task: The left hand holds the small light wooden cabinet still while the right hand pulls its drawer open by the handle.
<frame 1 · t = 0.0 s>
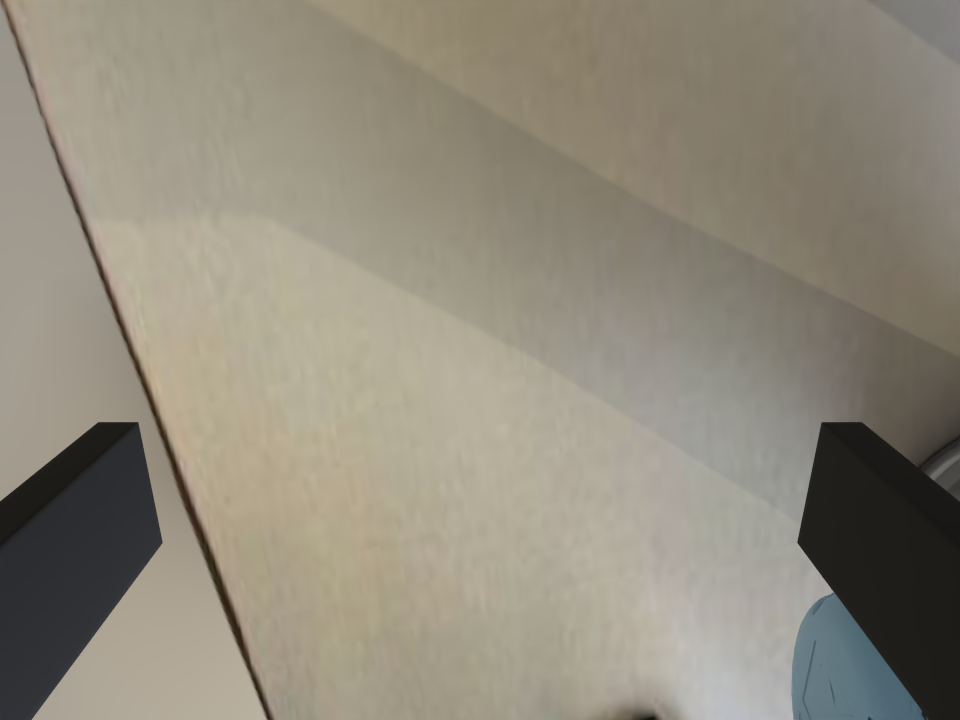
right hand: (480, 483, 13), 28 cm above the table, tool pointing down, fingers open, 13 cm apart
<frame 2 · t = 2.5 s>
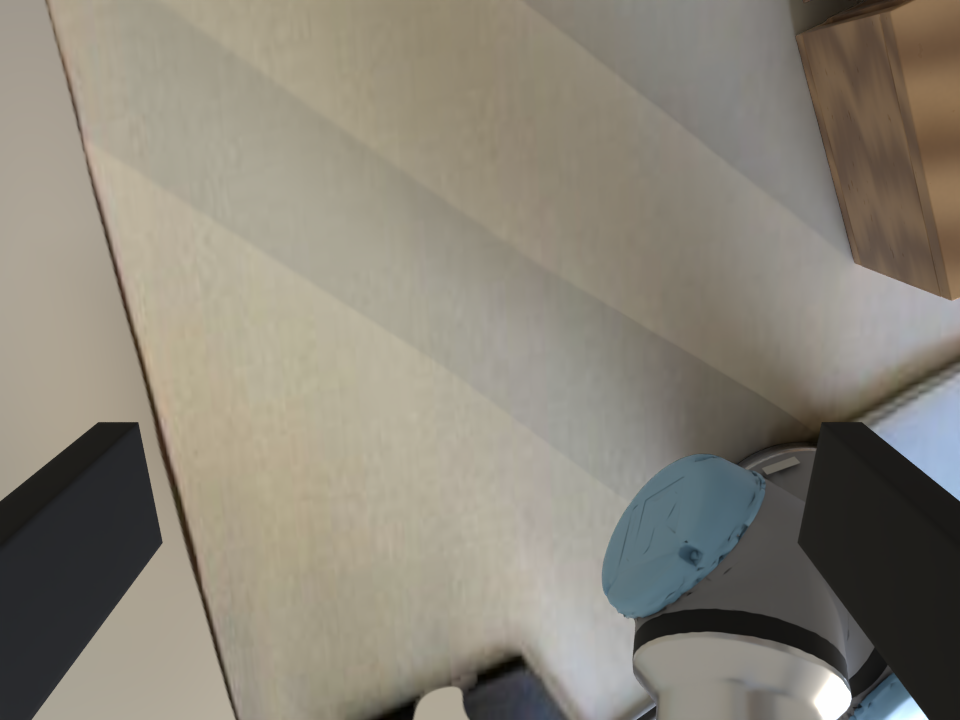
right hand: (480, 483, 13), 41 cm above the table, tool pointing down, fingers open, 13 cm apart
cabinet: (898, 124, 49), on the table
drawer: (931, 30, 41), point 6 cm above the table, slide at 1.8 cm
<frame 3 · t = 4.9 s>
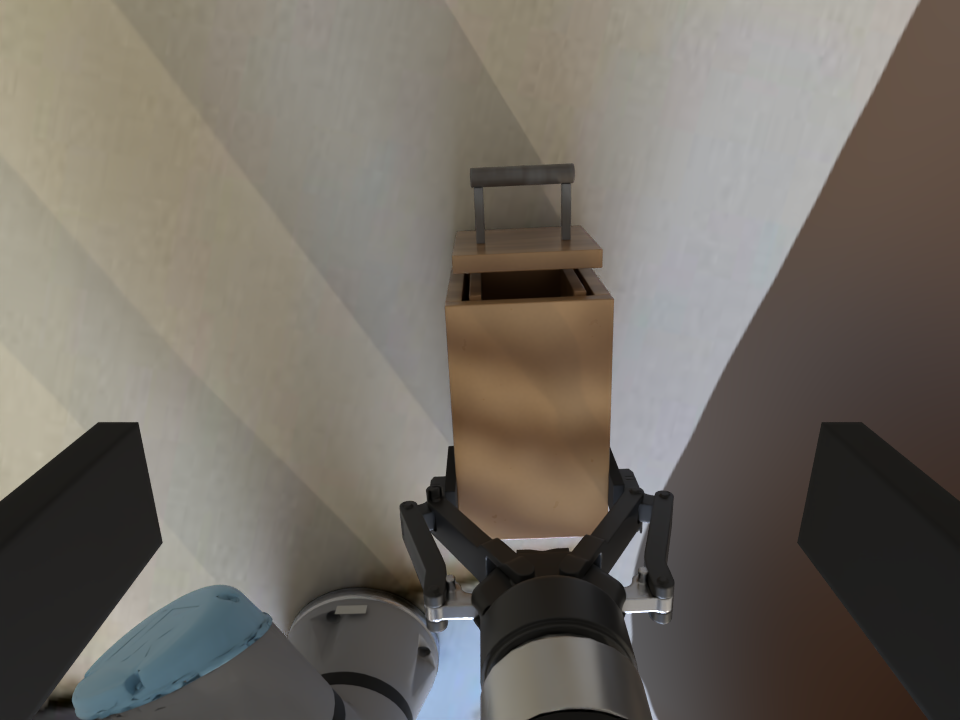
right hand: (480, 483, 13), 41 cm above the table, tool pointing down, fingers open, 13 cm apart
left hand: (528, 458, 51), fingers closed on cabinet, 11 cm apart
cabinet: (521, 368, 56), on the table, touching left hand
drawer: (524, 318, 48), point 6 cm above the table, slide at 1.8 cm
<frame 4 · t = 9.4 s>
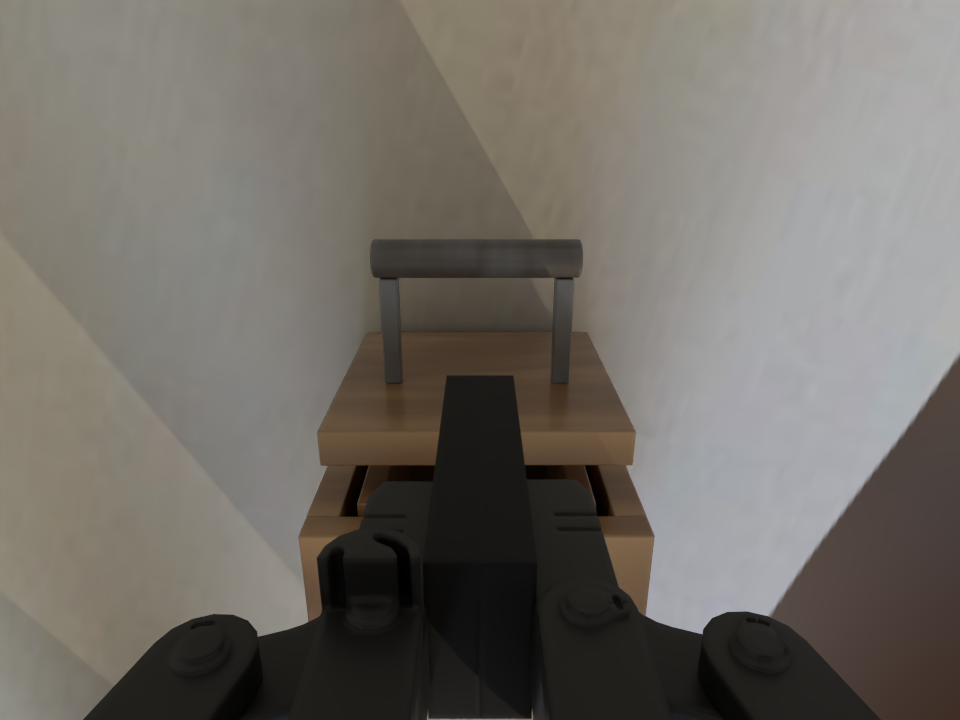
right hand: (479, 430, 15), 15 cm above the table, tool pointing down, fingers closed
cabinet: (477, 546, 34), on the table, touching left hand
drawer: (477, 507, 26), point 6 cm above the table, slide at 1.8 cm
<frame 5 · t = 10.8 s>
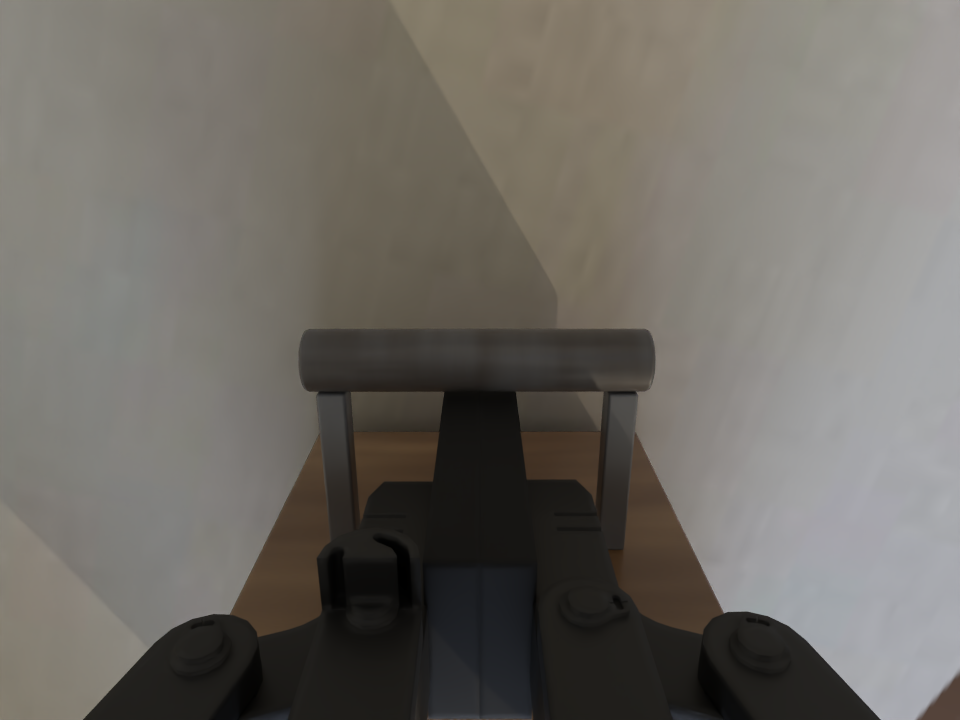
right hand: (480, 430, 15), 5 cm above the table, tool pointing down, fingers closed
drawer: (477, 705, 18), point 6 cm above the table, slide at 1.8 cm, touching right hand
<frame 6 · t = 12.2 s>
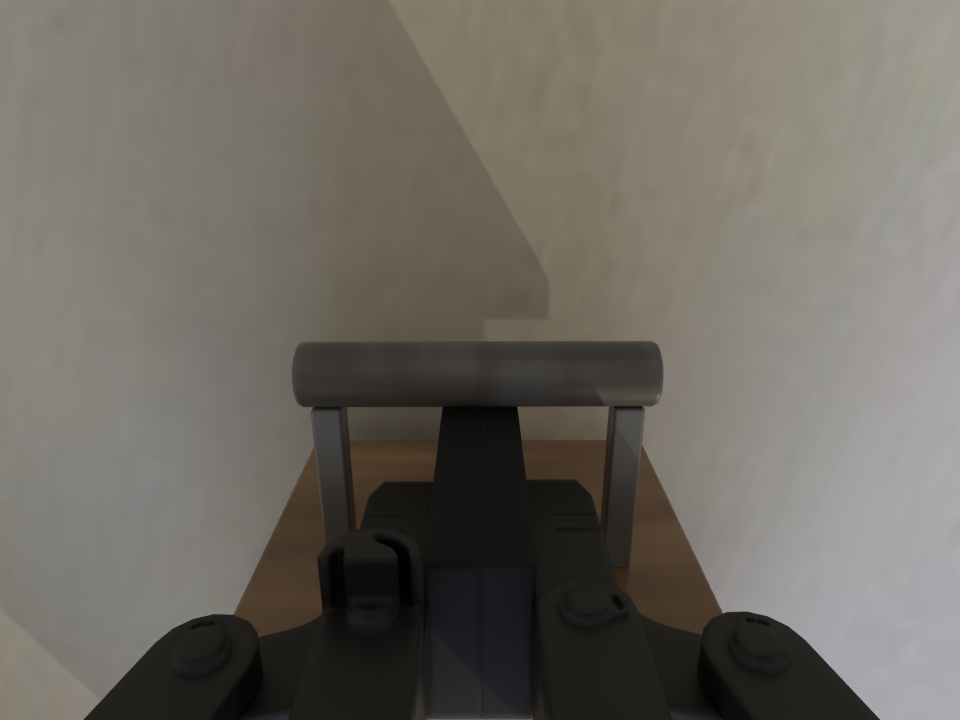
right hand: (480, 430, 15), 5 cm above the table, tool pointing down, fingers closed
when the left hand's fingers open (7 cm above the table, at t = 14.1 s): cabinet stays where it is, on the table.
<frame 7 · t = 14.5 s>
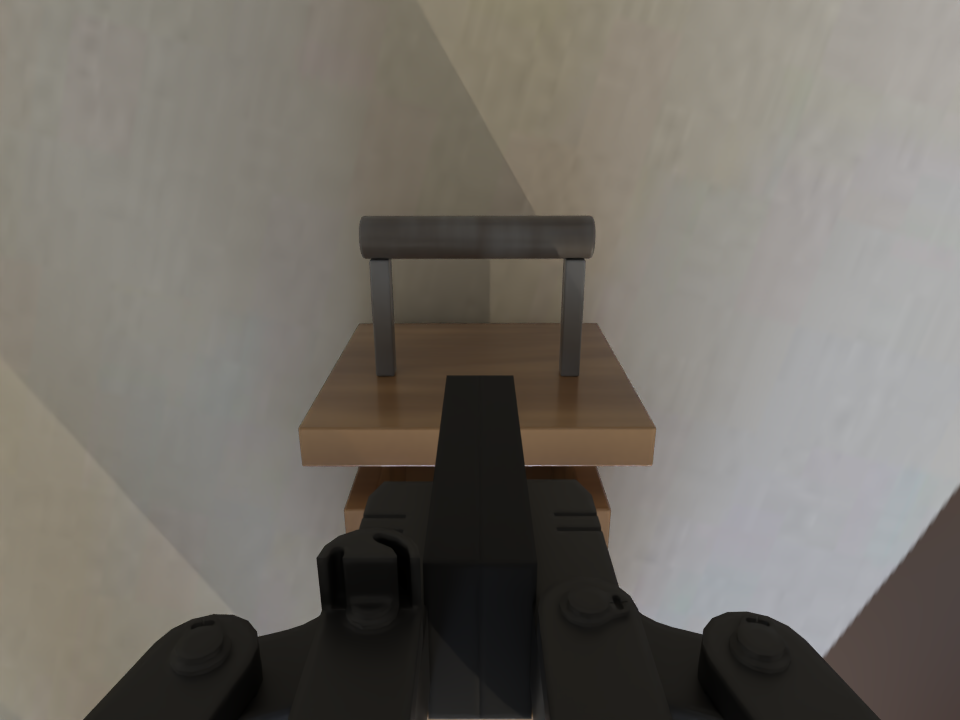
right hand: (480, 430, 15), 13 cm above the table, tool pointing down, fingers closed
drawer: (478, 513, 24), point 6 cm above the table, slide at 7.9 cm
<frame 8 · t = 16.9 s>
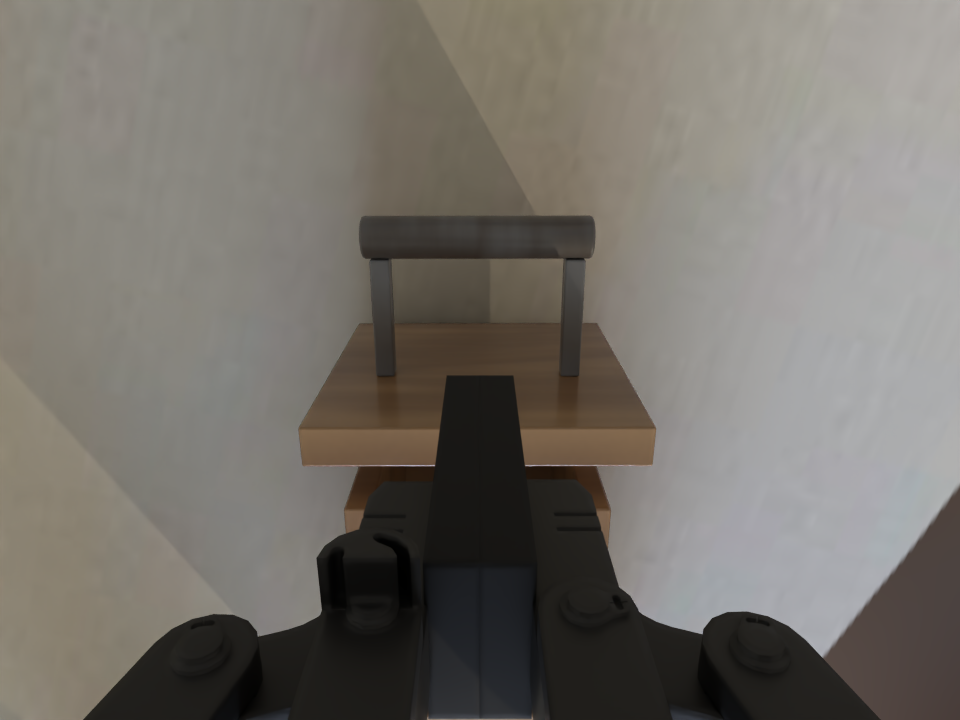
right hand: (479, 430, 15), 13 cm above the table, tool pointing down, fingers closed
drawer: (478, 513, 24), point 6 cm above the table, slide at 7.9 cm
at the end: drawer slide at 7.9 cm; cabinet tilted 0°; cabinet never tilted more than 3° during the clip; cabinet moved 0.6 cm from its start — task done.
